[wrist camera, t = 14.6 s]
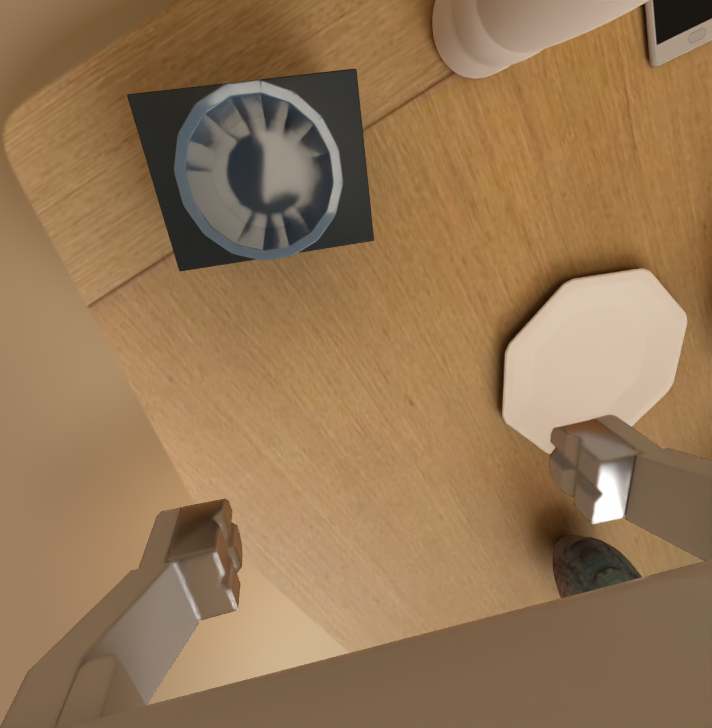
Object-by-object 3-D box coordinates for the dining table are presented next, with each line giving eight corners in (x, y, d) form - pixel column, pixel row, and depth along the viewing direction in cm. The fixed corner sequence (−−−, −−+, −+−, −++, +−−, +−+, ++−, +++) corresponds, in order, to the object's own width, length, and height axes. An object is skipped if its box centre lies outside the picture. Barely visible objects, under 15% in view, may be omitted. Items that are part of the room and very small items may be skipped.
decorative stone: (510, 514, 53) (634, 693, 35) (576, 479, 52) (737, 642, 34) (554, 606, 62) (670, 785, 44) (611, 576, 61) (752, 745, 43)
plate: (702, 342, 47) (715, 347, 46) (571, 469, 51) (579, 477, 50) (603, 226, 40) (615, 228, 38) (459, 386, 44) (465, 393, 42)
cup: (222, 241, 27) (201, 270, 19) (192, 118, 24) (151, 91, 16) (328, 225, 28) (351, 247, 20) (311, 104, 25) (329, 71, 17)
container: (198, 250, 34) (179, 271, 27) (161, 112, 30) (126, 94, 23) (353, 227, 36) (374, 240, 29) (337, 91, 32) (356, 68, 24)
